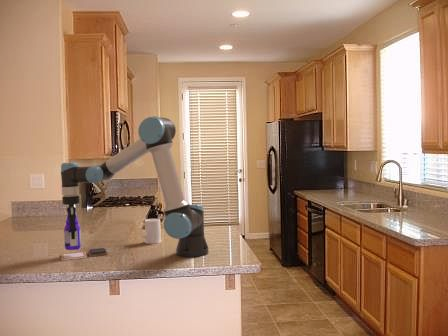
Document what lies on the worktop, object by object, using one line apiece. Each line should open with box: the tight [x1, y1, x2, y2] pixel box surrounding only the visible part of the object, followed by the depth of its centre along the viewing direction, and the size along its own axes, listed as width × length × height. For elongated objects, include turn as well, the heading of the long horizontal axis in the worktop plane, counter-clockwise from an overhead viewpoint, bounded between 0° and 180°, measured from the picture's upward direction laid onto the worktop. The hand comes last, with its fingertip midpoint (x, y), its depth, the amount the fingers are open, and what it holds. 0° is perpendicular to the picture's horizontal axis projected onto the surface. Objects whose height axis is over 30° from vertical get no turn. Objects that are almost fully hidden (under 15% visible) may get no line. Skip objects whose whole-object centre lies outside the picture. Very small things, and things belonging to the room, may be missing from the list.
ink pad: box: [87, 247, 108, 258], centre depth 218 cm, size 9×8×2 cm
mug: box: [139, 218, 162, 245], centre depth 239 cm, size 12×8×12 cm
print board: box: [60, 251, 88, 261], centre depth 214 cm, size 11×11×1 cm
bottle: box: [63, 212, 82, 251], centre depth 213 cm, size 7×6×17 cm
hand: (73, 244), depth 214 cm, fingers closed on bottle, 6 cm apart
